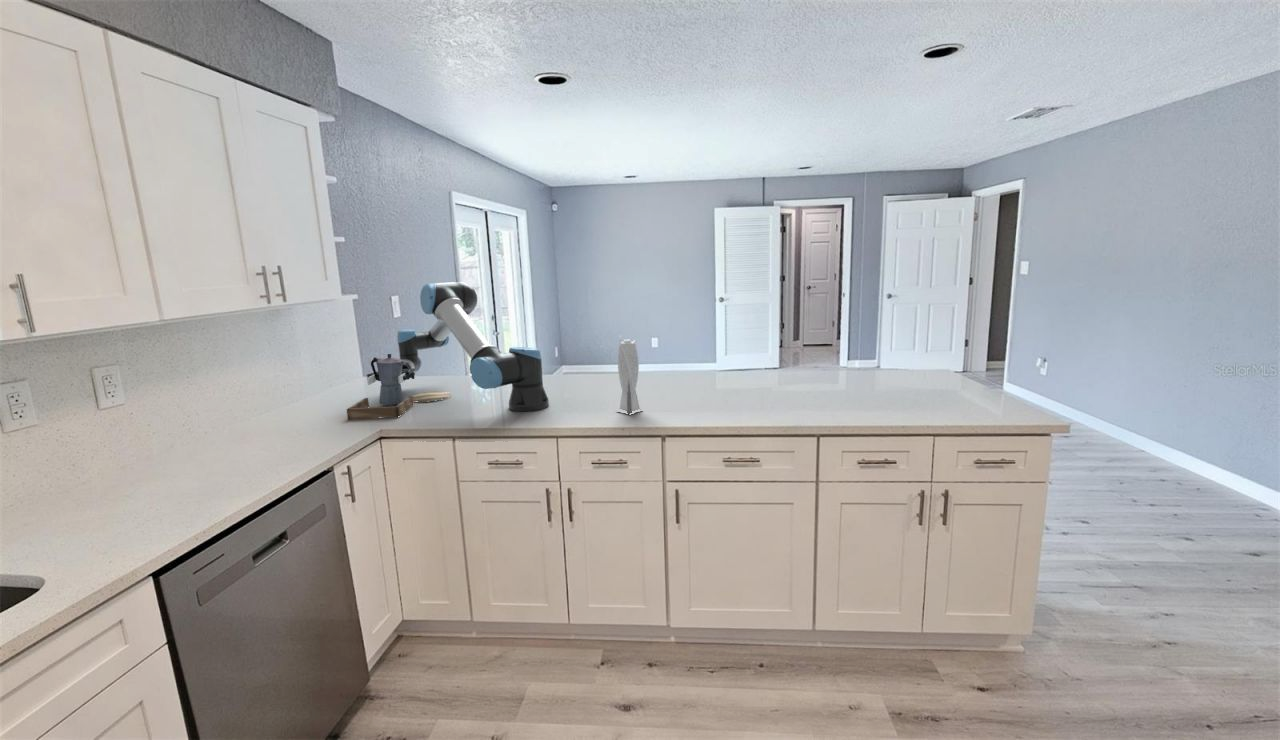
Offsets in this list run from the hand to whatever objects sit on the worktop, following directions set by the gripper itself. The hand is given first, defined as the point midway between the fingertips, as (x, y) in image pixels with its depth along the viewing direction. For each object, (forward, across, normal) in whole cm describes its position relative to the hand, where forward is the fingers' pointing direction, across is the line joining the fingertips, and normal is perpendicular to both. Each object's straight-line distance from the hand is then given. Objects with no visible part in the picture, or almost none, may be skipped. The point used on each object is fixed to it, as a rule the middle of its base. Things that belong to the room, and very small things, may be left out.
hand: (383, 380), depth 220 cm
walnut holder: (+6, 0, -11) cm, 13 cm away
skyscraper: (+21, -94, -11) cm, 97 cm away
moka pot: (-4, 0, -10) cm, 11 cm away
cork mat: (-14, -13, -11) cm, 22 cm away
